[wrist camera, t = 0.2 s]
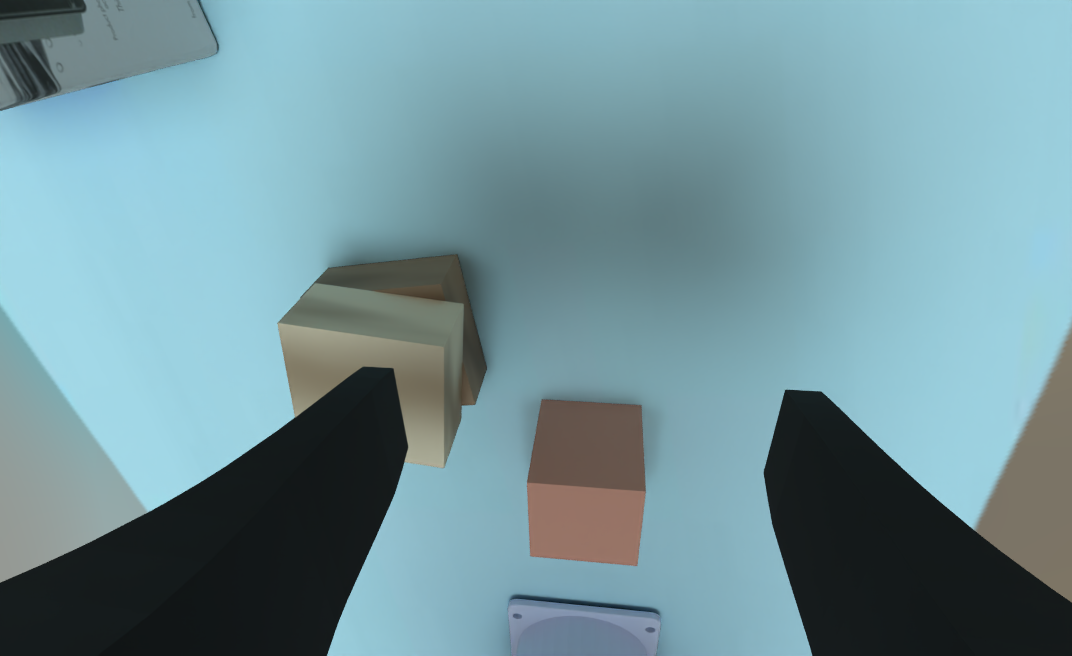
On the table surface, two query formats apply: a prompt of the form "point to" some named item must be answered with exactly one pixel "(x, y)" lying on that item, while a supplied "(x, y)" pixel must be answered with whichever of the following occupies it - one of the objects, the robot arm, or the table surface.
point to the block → (587, 482)
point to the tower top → (381, 357)
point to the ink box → (93, 43)
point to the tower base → (423, 281)
